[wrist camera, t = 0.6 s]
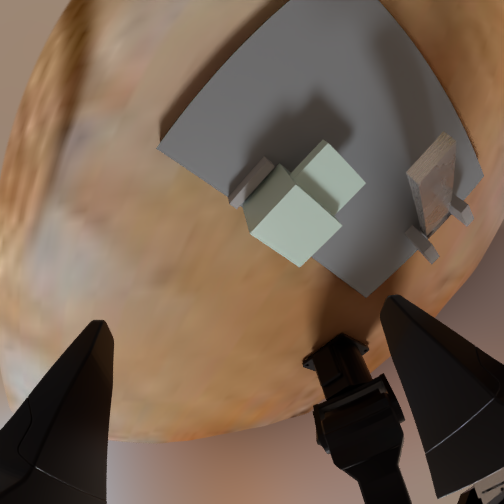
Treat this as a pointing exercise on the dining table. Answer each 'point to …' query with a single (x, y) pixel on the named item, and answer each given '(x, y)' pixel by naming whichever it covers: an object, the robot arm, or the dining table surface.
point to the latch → (302, 203)
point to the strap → (433, 183)
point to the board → (330, 126)
